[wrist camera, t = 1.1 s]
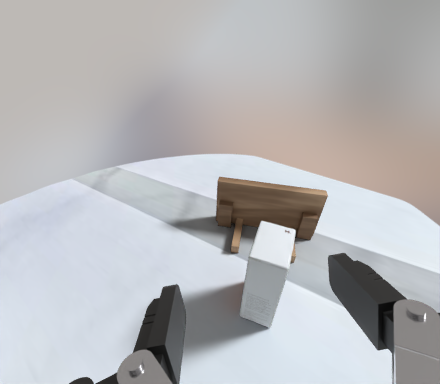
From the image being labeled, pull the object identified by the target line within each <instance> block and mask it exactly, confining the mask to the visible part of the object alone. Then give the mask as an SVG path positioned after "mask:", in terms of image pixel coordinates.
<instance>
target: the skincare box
mask: <svg viewBox="0 0 440 384" xmlns="http://www.w3.org/2000/svg"><path fill="white" fill-rule="evenodd" d="M295 233H296V230H295V229H291V228H287V227H284V226H280V225H276V224H273V223H269V222H265V221H261V222H260V225H259V227H258V230H257V233H256V236H255V239H254V242H253V245H252V248H251V251H250V254H249V258H248V264H247V270H246V276H245V283H244V289H243V295H242V302H241V308H240V314H239V315H240V316H241V317H243V318H245V319H248V320H251V321H253V322H256V323H258V324H261V325H263V326H266V327H268V328H270V327H271V325H272V321H273V318H274V315H275V312H276V309H277V306H278V303H279V300H280V297H281V293H282V290H283V287H284V284H285V281H286V278H287V274H288V271H289V267H290V262H291V256H292V251H293V247H294V239H295Z"/></svg>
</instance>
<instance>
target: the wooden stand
mask: <svg viewBox="0 0 440 384" xmlns="http://www.w3.org/2000/svg"><path fill="white" fill-rule="evenodd" d="M327 197H328V195H327V192H326V191H324V190H317V189H309V188H302V187H294V186H286V185H279V184H271V183H264V182H256V181H248V180H241V179H233V178H225V177H219V179H218V186H217V211H216V221H218V225H219V226H225V227H231V223H234V224H236V225H235V230H234V235H233V240H232V246H231V252H234V253H238V250H239V244H240V238H241V231H242V225H247V226H254V227H259V225H260V222H261V221H265V222H269V223H273V224H276V225H280V226H284V227H287V228H291V229H295V230H296V238H301V239H307V240H310V239H311V237H312V236H313V234H314V231H315V229H316V226H317V223H318V221H319V218H320V215H321V213H322V210H323V207H324V205H325V202H326V199H327ZM295 257H296V254H295V244H294V247H293V251H292V256H291V262H292V263H294V260H295Z"/></svg>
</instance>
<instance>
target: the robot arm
mask: <svg viewBox="0 0 440 384" xmlns="http://www.w3.org/2000/svg"><path fill="white" fill-rule="evenodd" d="M328 266H329V281H330V285H331V288H332V290H333V292H334V294H335V295H336V296H337V298H338V299H339V300H340V301H341V303H342V304H343V305H344V307H345V308H346V309H347V311H348V312H349V313H350V315H351V316H352V317H353V319H354V320H355V321H356V322H357V324H358V325H359V326H360V328H361V329H362V330H363V332H364V333H365V334H366V336H367V337H368V338H369V340H370V341H371V342H372V343H373V345H374V346H375V347H376V349H377V350H383V349H389V350H390V351H391V353H392V384H440V313H437V312H436V311H435V310H434V309H433V308H431V307H430V306H428V305H426V304H424V303H421V302H419V301H415V300H407V299H406V298H405V297H404V296H403V295H402V294H401V293H399V292H398V291H397V290H396V289H395V288H394V287H392V286H391V285H390V284H389V283H388V282H387V281H385V280H384V279H383V278H382V277H381V276H380V275H379V274H376V272H375V271H374V270H373V269H372V268H370V267H369V266H368V265H366V264H364V263H362V262H360V261H353V260H352V259H351V258H350V257H349V256H347V255H346V254H345V253H340V254H335V255H330V256H329V257H328ZM185 324H186V312H185V307H184V303H183V299H182V296H181V292H180V288H179V286H178V284H176V285H171V286H165V287H163V289H162V293H161V296H160V298H157V299H154V300H153V301H152V302H151V304H150V305H149V306H148V308H147V311H146V314H145V318H144V320H143V325H142V326H141V329H140V332H139V336H138V339H137V342H136V345H135V348H134V351H133V353H132V354H131V355H129V356H128V357H127V358H126V359H125V360H124V361H123V362H122V363H121V365H120V367H119V369H118V372H117V373H115V374H114V375H112V376H110V377H108V378H106V379H104V380H102V381H100V382H98V383H96V384H179V381H180V371H181V362H182V353H183V343H184V334H185ZM69 384H94V383H93V381H92V380H91V379H90V378H88V377H83V378H79V379H76V380H74V381H72V382H71V383H69Z"/></svg>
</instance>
